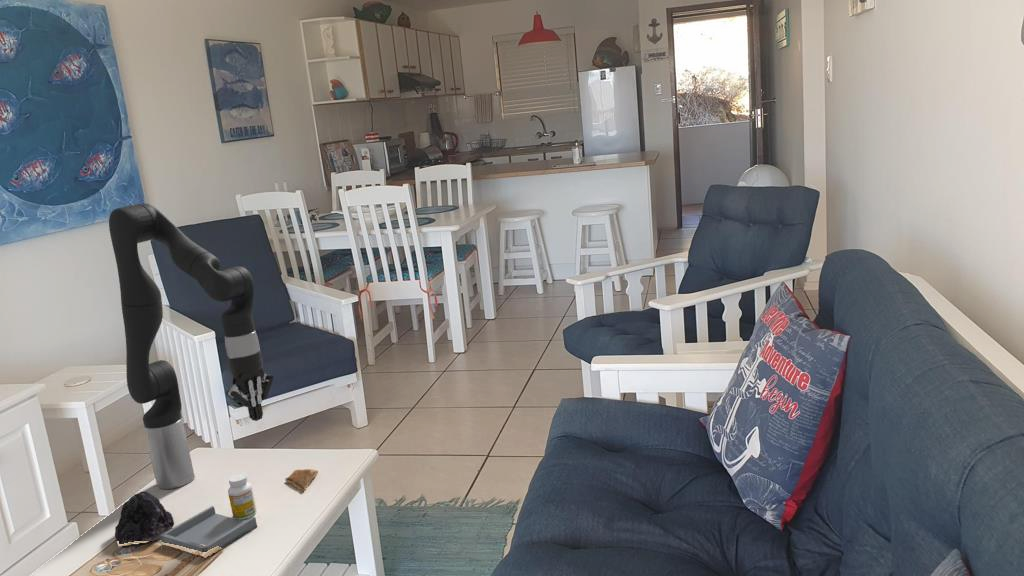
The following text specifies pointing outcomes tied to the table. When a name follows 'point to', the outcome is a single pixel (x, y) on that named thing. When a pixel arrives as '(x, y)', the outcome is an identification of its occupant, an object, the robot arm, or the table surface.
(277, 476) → the table surface
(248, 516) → the supplement bottle
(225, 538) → the tray
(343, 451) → the table surface
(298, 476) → the shard
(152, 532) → the crystal cluster
